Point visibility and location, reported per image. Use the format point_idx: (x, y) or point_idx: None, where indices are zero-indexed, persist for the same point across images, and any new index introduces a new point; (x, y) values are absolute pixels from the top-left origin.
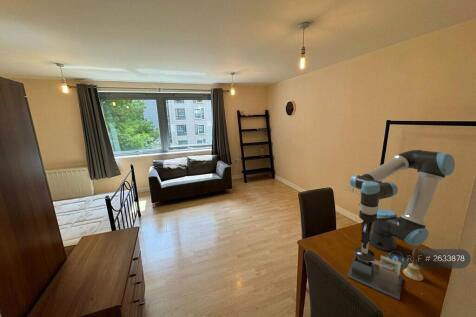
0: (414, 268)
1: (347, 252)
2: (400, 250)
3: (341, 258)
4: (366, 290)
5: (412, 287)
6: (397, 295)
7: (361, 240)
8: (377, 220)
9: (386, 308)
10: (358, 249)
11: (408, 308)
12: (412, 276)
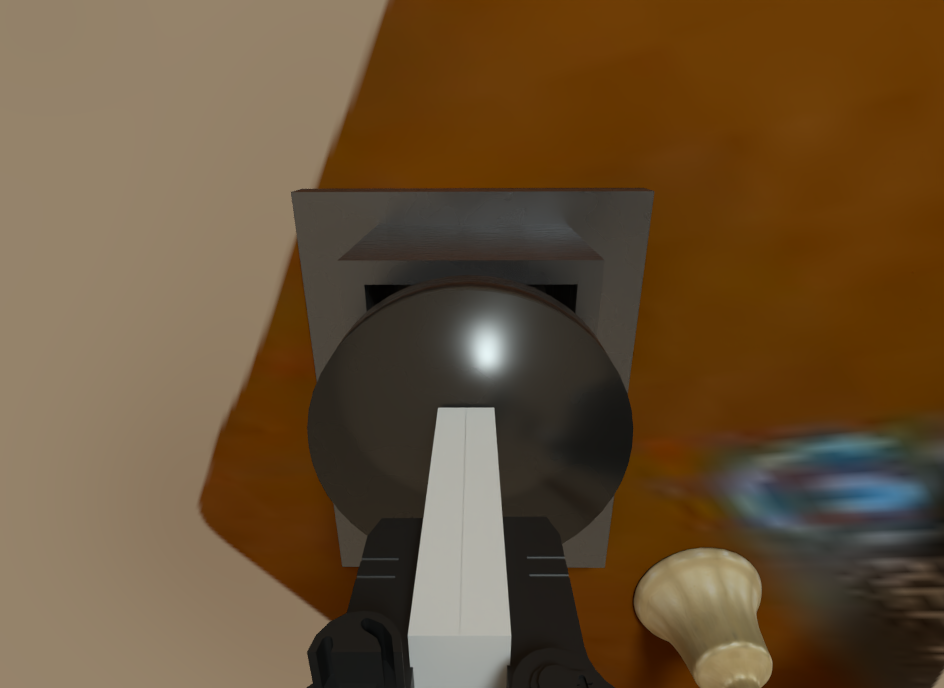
0: (697, 676)
1: (768, 67)
2: None
3: (586, 33)
4: (265, 372)
5: None
6: (352, 556)
7: (353, 671)
8: None
9: (205, 498)
10: (504, 348)
11: (318, 585)
12: (651, 608)
